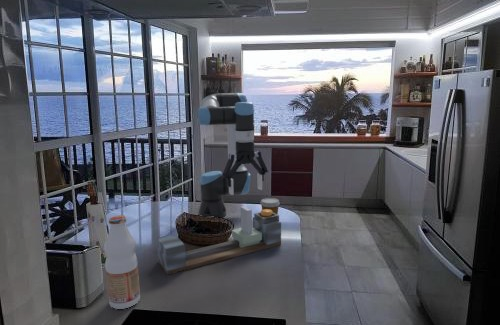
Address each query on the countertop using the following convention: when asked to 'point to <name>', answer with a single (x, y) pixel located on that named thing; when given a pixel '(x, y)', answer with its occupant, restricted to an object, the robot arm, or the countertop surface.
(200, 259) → the rail bench
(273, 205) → the disposable coffee cup
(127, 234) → the fruit juice
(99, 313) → the countertop surface
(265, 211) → the button
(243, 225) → the block
